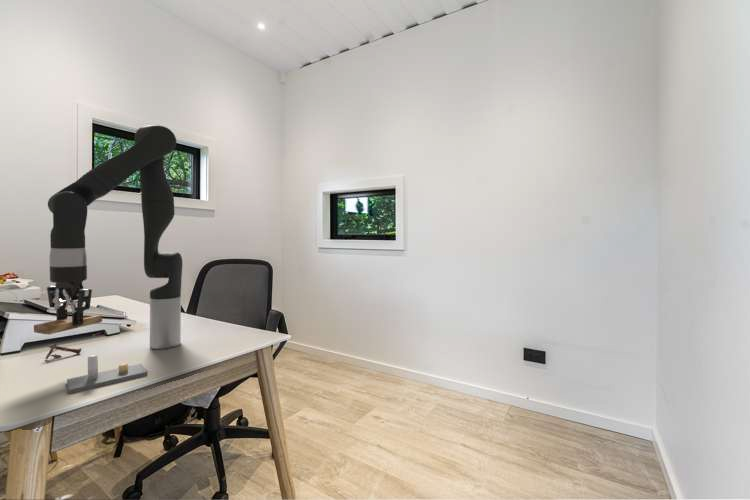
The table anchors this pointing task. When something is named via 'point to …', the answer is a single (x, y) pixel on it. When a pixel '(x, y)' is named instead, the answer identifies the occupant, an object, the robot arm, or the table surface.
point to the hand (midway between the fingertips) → (69, 323)
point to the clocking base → (104, 375)
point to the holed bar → (65, 324)
